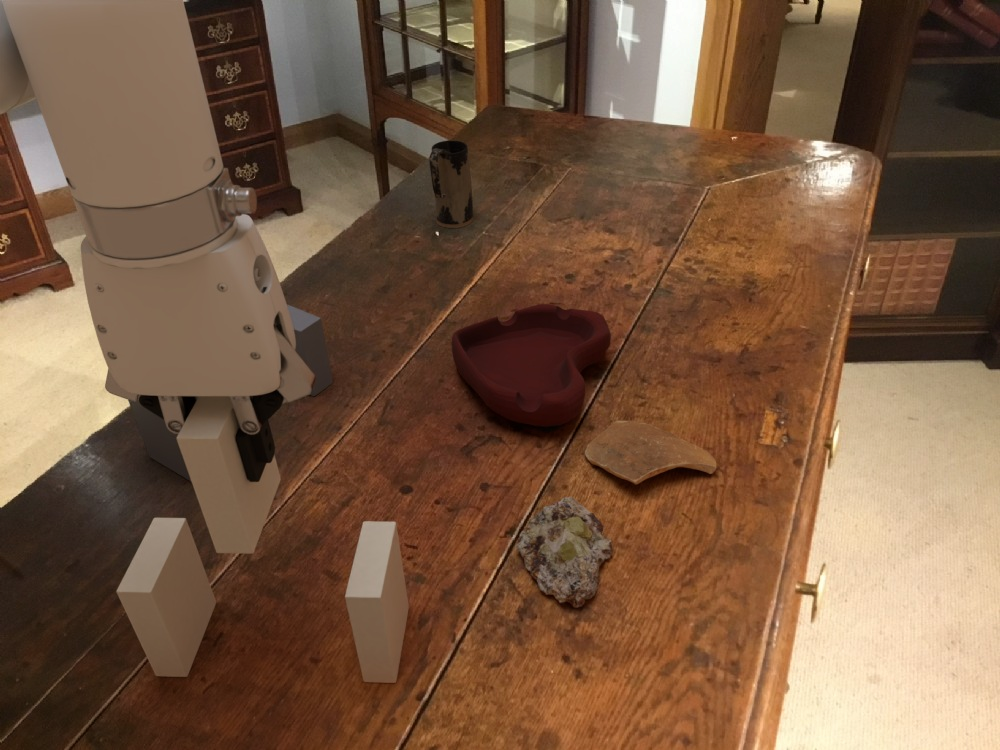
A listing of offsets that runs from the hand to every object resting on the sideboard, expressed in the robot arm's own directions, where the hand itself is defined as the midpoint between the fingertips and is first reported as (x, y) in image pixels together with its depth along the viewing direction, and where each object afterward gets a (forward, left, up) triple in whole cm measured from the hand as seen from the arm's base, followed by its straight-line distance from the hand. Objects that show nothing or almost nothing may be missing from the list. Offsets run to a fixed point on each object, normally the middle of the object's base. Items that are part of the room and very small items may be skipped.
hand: (235, 465), depth 56 cm
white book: (0, 0, -5) cm, 5 cm away
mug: (-33, +64, -19) cm, 74 cm away
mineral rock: (+14, +19, -19) cm, 30 cm away
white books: (0, 0, -19) cm, 19 cm away
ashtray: (-3, +38, -19) cm, 42 cm away
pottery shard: (+14, +34, -19) cm, 41 cm away
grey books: (-24, +17, -19) cm, 35 cm away
